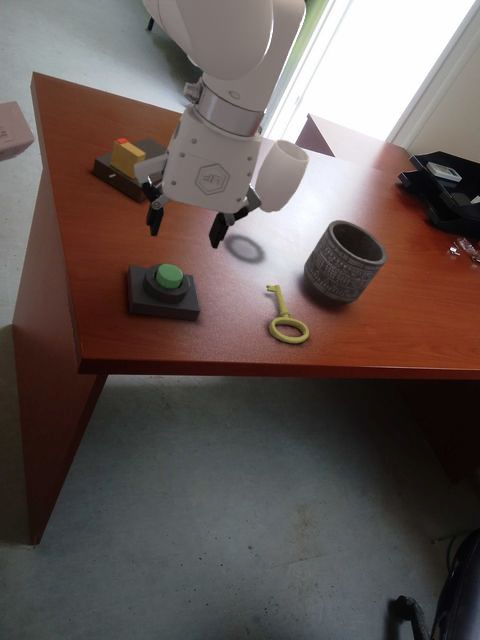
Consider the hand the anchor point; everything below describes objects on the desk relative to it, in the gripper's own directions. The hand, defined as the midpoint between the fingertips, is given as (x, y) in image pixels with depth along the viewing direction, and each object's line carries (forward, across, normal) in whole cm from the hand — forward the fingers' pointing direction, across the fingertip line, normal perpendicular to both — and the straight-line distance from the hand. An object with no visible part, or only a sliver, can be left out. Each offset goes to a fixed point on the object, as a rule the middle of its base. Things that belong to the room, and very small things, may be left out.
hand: (183, 235), depth 62 cm
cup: (+12, +18, +17) cm, 28 cm away
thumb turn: (+9, -5, +29) cm, 31 cm away
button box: (+12, 0, 0) cm, 12 cm away
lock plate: (+12, -1, +34) cm, 36 cm away
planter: (+12, +33, +8) cm, 36 cm away
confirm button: (+8, 0, 0) cm, 8 cm away
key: (+12, +21, -1) cm, 24 cm away
